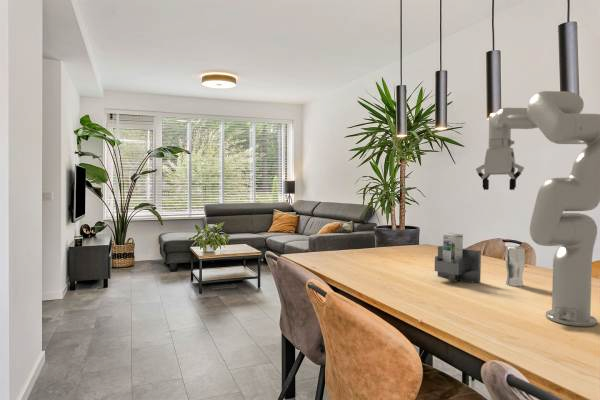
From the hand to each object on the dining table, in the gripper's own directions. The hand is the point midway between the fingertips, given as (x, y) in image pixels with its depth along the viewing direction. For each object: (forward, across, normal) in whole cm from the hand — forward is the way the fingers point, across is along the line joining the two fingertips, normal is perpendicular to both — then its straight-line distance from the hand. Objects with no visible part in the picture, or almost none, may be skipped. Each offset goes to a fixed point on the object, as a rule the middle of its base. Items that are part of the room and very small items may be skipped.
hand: (498, 189), depth 158 cm
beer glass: (+38, -2, -11) cm, 40 cm away
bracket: (+38, +18, +1) cm, 42 cm away
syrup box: (+33, +18, +1) cm, 38 cm away
